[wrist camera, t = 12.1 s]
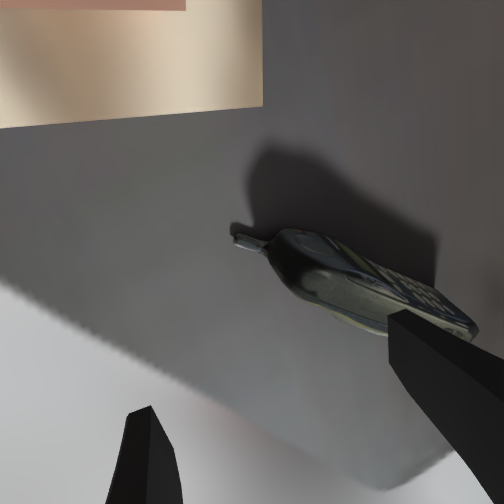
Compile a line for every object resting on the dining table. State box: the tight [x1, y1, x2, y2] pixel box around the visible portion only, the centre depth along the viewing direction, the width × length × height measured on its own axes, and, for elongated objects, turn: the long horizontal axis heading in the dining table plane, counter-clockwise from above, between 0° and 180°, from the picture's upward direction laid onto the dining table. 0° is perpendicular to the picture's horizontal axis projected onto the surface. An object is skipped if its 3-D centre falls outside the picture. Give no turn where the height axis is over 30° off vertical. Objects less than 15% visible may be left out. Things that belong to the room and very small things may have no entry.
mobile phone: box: [233, 228, 479, 343], centre depth 23 cm, size 5×3×15 cm
